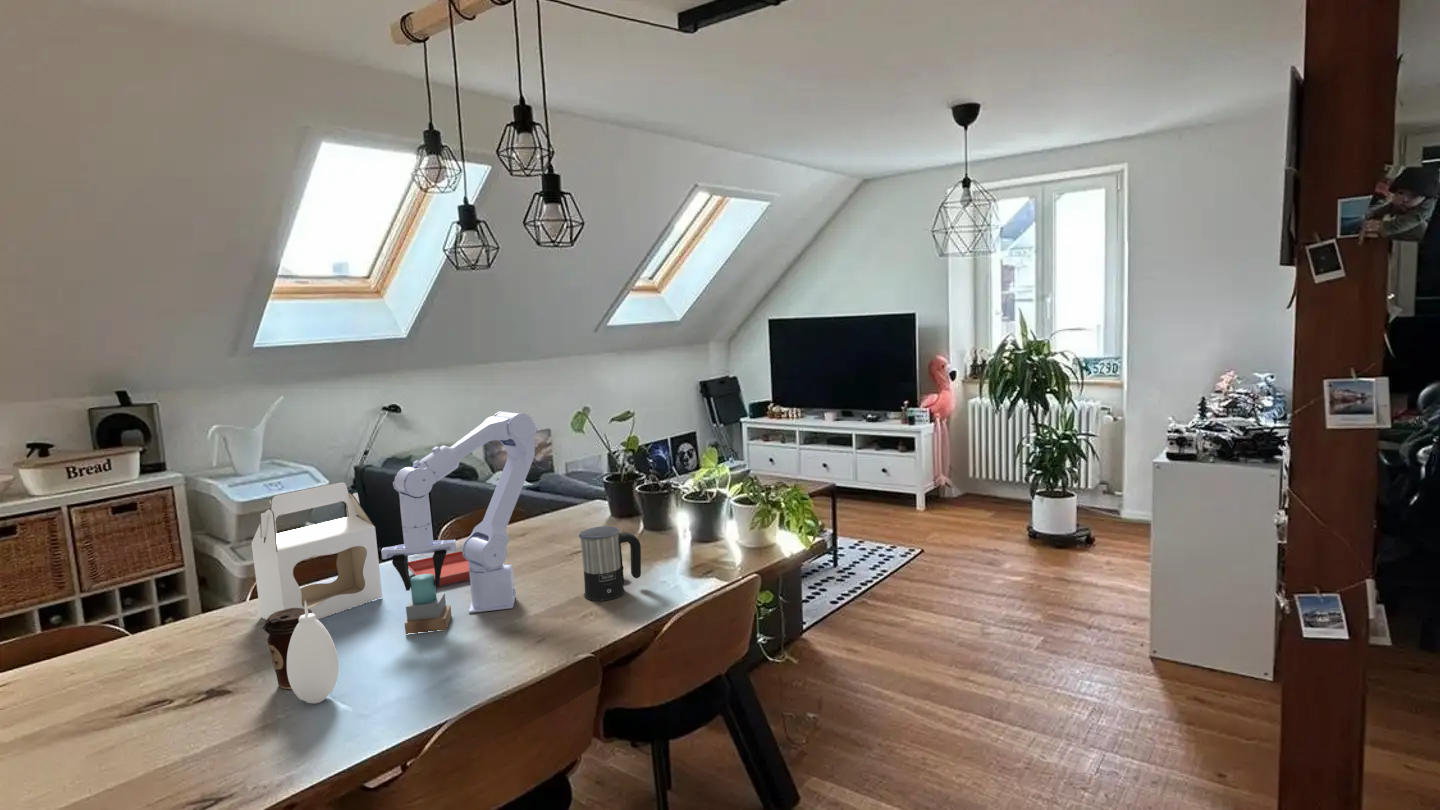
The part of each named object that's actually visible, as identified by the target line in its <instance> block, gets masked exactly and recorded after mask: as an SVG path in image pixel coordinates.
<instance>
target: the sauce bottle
mask: <svg viewBox="0 0 1440 810" xmlns="http://www.w3.org/2000/svg"><path fill="white" fill-rule="evenodd" d="M304 605H305V614H304V615H301V616H300V617H299V623H298V624H297V626H296V628H295V630H294V632H293V634H292V637H291V639H290V643H289V647H288V652H287V675H288V680H289V683H290V686H291V688H292V689H291V690H292V692H293V693H294V694H295V696H297V698H298V699H299V700H300V701H304V702H305V703H307V704H312V705H313V704H319V703H321V702H323V701H324V700H326V699H327V697H328V696H329V695H330V694H331V693H332V692H333V691H334V689H335V686H336V684H337V680H338V676H339V657H338V652H337V649H336V646H335V642H334V640H333V638H332V636H331V634H330V632H329V631H328V630H327V628H326V627H325V625H324V623H322V622H321V621H320V619H318V620H317V619H316V615H315V614H313V613H308V608H307V603H306V601H305V603H304Z"/></svg>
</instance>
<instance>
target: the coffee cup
mask: <svg viewBox="0 0 1440 810" xmlns="http://www.w3.org/2000/svg"><path fill="white" fill-rule="evenodd" d="M308 613H312V611H311V610H310V609H308ZM304 614H305V609H303V608H289V609H285V610H281V611H277V612H275V613H273V614H271V615H270V616H269V617H268V619H267V620H266V619H265V624H264V625H263V626H262V630H264V632H266V633H267V634H268V638H267V646H268V650H269V653H270V657H271V663H272V665H273V670H274V672H275V675H276V679H277V684H278V686H279V688H282V689H284V690H292V688H291V686H290V683H289V680H288V675H287V652H288V647H289V643H290V639H291V637H292V634H293V632H294V630H295V628H296V626H297V624H298V623H299V617H300V616H301V615H304ZM316 619H317V618H316Z"/></svg>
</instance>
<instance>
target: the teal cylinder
mask: <svg viewBox="0 0 1440 810" xmlns="http://www.w3.org/2000/svg"><path fill="white" fill-rule="evenodd" d="M410 584H411V588H410V592H411V599H412V602H413V604H417V605H421V604H428V603H431V602H433V601H435V600H436V599H437V597H436V594H437V589H436V588H437V587H435V577H434V575H433V574H421V575H417V576H415V575H414V576H412V577H411V578H410Z"/></svg>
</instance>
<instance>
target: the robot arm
mask: <svg viewBox="0 0 1440 810" xmlns="http://www.w3.org/2000/svg"><path fill="white" fill-rule="evenodd" d="M537 431H538V427H537V425H536V424H535V422H534V420H533V418H532V417H531V416H530V415H529V414H527V413H525V412H524V413H520V412H519V413H517V412H510V411H509V412H508V411H505V410H500V411H498V412H496V413H494V415H491V416H489V417H487V418H486V419H485V420H484V421H483V422H481V424H479V425H478V426H476V427H475V428H474V429H472V430H471V431H469V432H468V433H467V434H465V436H463V437H462V438H460V439H459V440H458V441H457V442H455V443H454V444H452V445H451V446H447V445H441V446H434V447H433V448H431V452H430V453H429V454H427V455H426V456H424V457H423V458H421V459H419V460H415V461H413V463H412V466H406V467H403V468H401V469H399V470H398V471H397V472H396V475H395V476H394V481H393V482H392V486H393V489H394V490H395V491H396V492H398V495H399V506H400V507H399V508H400V518H401V527H402V536H403V544H398V545H393V546H386V547H382V549H381V560H387V559H391V558H392V560H391V563H392V565H393V567H394V568H395V569H396V571H397V573H398V574H399V576H400V578H401V580H402V582H403V585H404V588H405V591H406V592H407V591H411V584H410V579H411V578H410V572H409V570H410V569H409V568H408V562H409V556H414V555H415V556H416V555H422V554H423V555H424V554H431V553H433V554H432V557H433V562H434V569H435V586H436V588H440V587H441V586H440V575H441V569H442V565H443V562H444V559H445V556H446V554H448V553H447V552H448V551H449V552H457V541H456V539H447V540H444V539H443V540H442V539H441V540H438V539H437V540H436V539H435V540H434V536H433V526H432V525H433V524H432V515H431V504H430V503H431V502H430V497H429V496H430V495H429V493H430V492H431V491H432V489H433V486H434V485H435V484H436V483H438V482H440V480H442V479H443V478H445V477H446V476H448V475H449V474H451V473H453V472H454V471H455V470H456V469H458V468H459V465H460V462H461V459H463V458H465V457H466V456H468V455H469V454H471V453H472V452H474V451H476V450H478V449H479V448H481V447H483V446H485V445H486V444H488V443H489V442H491V441H499V442H500V443H501V445H503V447H504V449H505V452H506V453H507V459H506V462H505V465H504V467H503V470H502V472H501V474H500V477H499V479H498V482H497V483H496V487H495V488H494V489H495V490H494V492H493V494H492V495H491V496H492V497H491V499H490V502H489V504H488V506H487V509H486V512H485V514H484V517H483V519H482V521H481V522H480V523H478V524H476V525H475V526H474V528H473V529H472V532H471V533H470V535H469V536H467V538H465V541H464V542H463V544H462V548H461V551H462V553H463V556H464V558H465V559H466V560H468V561H469V575H470V580H469V582H470V583H469V585H470V593H471V596H470V597H471V603H470V605H469V609H468V613H469V614H473V613H482V612H489V611H498V610H500V611H501V610H506V609H513V608H514V605H515V600H516V593H517V592H516V588H515V580H514V568H513V565H512V564H504V563H505V562H506V559H507V556H508V551H507V550H508V544H509V542H510V537H509V535H508V531H507V527H508V524H509V522H510V520H511V517H512V514H513V511H514V509H515V507H516V505H517V502H518V501H519V497H520V494H521V491H522V490H523V487H524V485H525V481H526V479H527V477H528V474H529V471H530V469H531V466H532V464H533V462H534V459H535V454H536V452H535V451H536V447H535V444H536V443H535V436H536V434H537Z"/></svg>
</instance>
